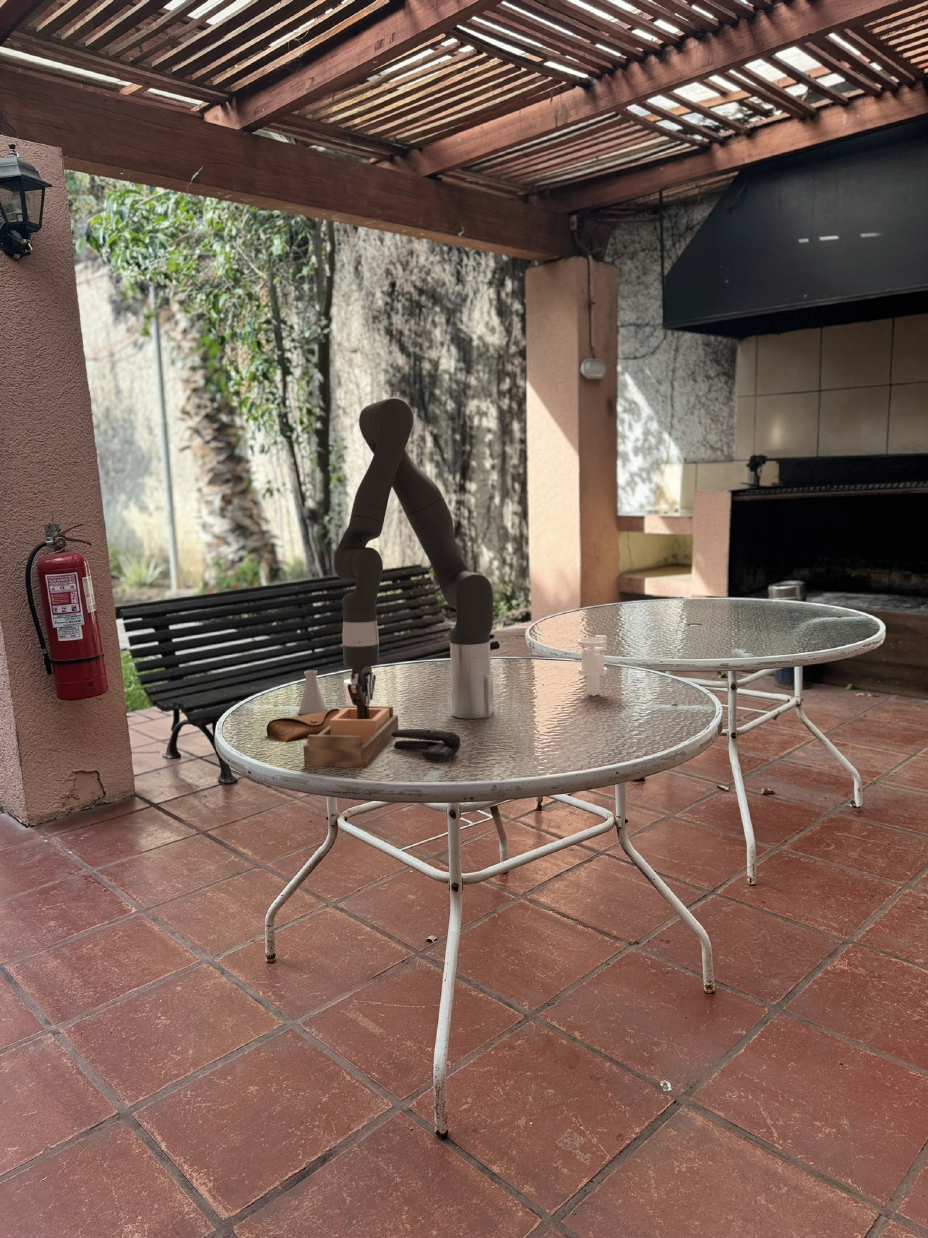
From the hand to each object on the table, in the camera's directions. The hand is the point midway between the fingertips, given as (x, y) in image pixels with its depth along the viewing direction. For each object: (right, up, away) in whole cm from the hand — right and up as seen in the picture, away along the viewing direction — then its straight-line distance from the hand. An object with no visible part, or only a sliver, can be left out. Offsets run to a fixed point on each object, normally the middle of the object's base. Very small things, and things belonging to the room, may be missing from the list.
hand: (363, 722), depth 190 cm
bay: (-1, -5, -6) cm, 8 cm away
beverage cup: (-3, -1, +18) cm, 19 cm away
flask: (-15, -1, +26) cm, 30 cm away
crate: (0, -3, -2) cm, 3 cm away
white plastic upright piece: (+54, +3, +34) cm, 63 cm away
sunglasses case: (-12, -4, +8) cm, 15 cm away
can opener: (+14, -5, -11) cm, 18 cm away
